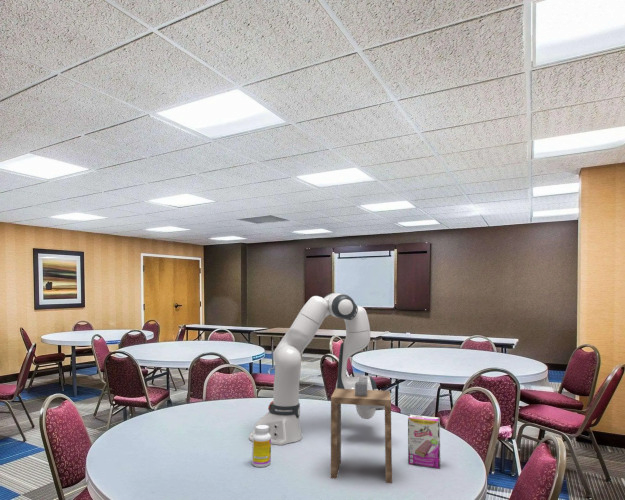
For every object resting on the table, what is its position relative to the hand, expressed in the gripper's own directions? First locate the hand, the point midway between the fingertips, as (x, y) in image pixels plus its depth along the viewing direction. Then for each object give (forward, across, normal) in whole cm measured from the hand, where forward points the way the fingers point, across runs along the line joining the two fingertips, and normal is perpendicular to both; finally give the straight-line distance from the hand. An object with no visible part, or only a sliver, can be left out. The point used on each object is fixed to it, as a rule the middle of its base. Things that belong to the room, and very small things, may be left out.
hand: (364, 390), depth 164 cm
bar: (+15, 0, +5) cm, 16 cm away
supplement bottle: (+7, -36, +31) cm, 48 cm away
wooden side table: (+7, 0, +30) cm, 31 cm away
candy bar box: (-2, +22, +25) cm, 34 cm away
